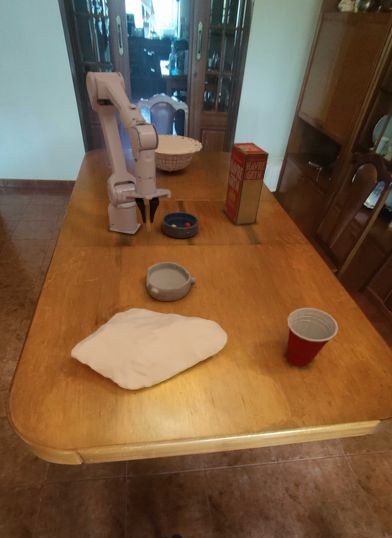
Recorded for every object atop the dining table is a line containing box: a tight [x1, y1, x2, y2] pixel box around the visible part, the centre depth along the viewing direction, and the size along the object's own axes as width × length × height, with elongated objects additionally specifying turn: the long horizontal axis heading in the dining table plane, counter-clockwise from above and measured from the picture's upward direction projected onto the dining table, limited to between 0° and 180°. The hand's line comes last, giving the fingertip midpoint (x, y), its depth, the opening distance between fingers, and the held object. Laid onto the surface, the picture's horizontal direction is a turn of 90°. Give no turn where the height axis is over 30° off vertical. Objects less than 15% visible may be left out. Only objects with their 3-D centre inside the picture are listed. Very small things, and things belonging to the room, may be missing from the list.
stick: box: [144, 203, 152, 233], centre depth 100 cm, size 2×2×8 cm
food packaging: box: [223, 142, 270, 226], centre depth 122 cm, size 13×9×25 cm
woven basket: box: [154, 134, 203, 173], centre depth 157 cm, size 32×32×13 cm
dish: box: [145, 261, 197, 302], centre depth 93 cm, size 14×14×5 cm
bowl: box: [161, 211, 200, 239], centre depth 118 cm, size 13×13×4 cm
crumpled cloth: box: [70, 307, 229, 391], centre depth 73 cm, size 24×35×9 cm
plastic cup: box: [285, 307, 339, 368], centre depth 74 cm, size 11×11×12 cm
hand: (147, 221), depth 100 cm, fingers closed on stick, 2 cm apart
